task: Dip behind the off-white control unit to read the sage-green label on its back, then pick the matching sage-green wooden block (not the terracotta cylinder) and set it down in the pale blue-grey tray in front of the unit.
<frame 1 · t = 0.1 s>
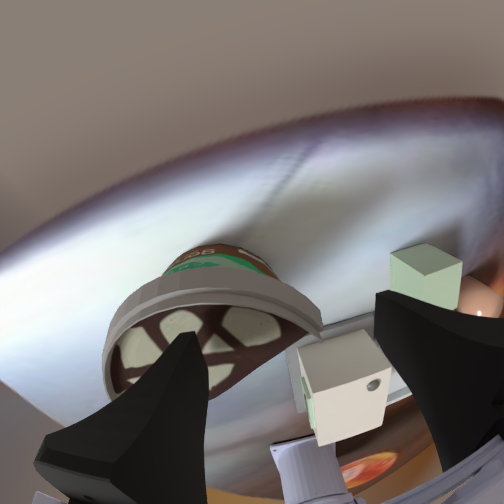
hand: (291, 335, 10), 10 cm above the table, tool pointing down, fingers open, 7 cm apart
food container: (194, 276, 20), on the table
control unit: (331, 367, 24), on the table
green part: (408, 269, 21), on the table
tray: (409, 359, 25), on the table
terracotta part: (462, 292, 23), on the table
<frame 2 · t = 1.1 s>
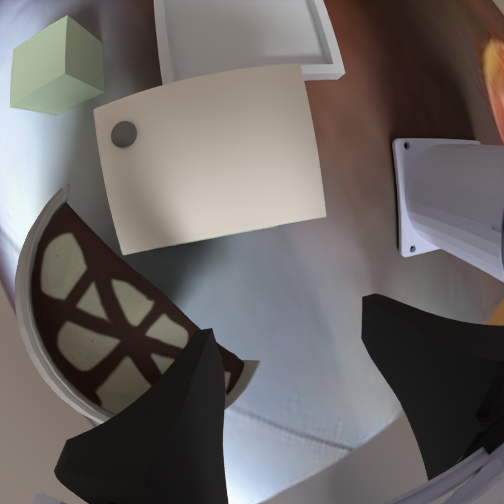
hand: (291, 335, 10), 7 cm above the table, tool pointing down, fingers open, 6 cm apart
food container: (80, 349, 15), point 3 cm above the table, touching gripper
control unit: (215, 159, 15), on the table
green part: (78, 78, 12), on the table
tray: (241, 18, 12), on the table
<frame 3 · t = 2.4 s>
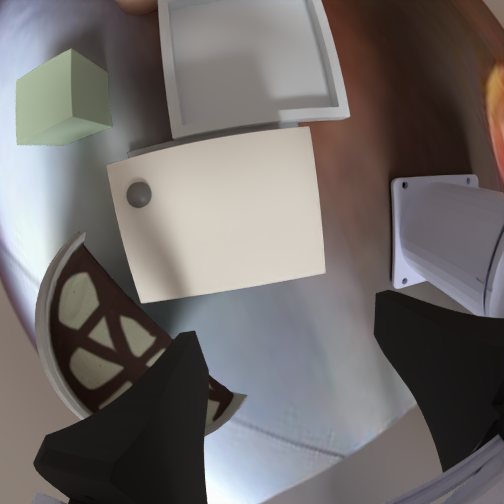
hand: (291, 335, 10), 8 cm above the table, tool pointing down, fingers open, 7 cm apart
food container: (90, 362, 16), point 2 cm above the table, touching control unit
control unit: (222, 200, 16), on the table
green part: (83, 109, 14), on the table
tray: (248, 52, 13), on the table
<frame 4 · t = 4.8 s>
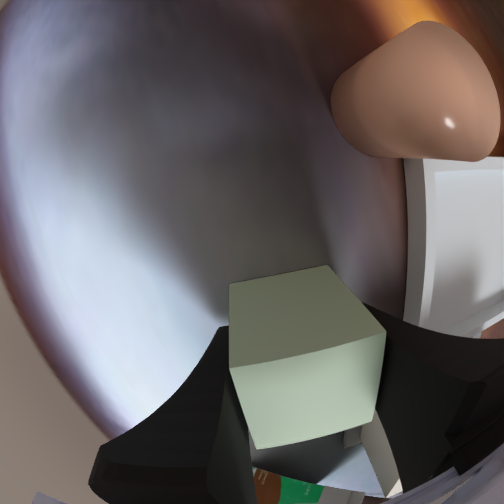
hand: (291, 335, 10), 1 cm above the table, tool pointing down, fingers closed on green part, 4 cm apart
control unit: (415, 386, 14), on the table
green part: (285, 317, 12), on the table, touching gripper
tray: (473, 248, 11), on the table
terracotta part: (375, 110, 9), on the table
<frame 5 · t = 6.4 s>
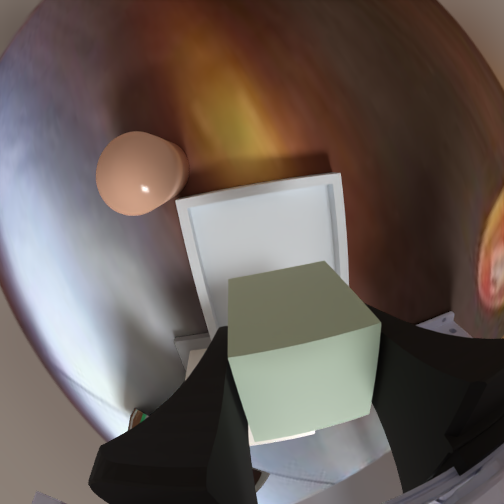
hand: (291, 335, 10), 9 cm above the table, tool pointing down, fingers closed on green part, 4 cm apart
food container: (157, 451, 22), point 2 cm above the table, touching control unit
control unit: (248, 366, 21), on the table
green part: (283, 312, 12), point 7 cm above the table, touching gripper
tray: (269, 257, 19), on the table
terracotta part: (158, 170, 16), on the table
when the fingers open (3 cm above the table, at t = 7.9 s): green part drops 1 cm, resting on tray.
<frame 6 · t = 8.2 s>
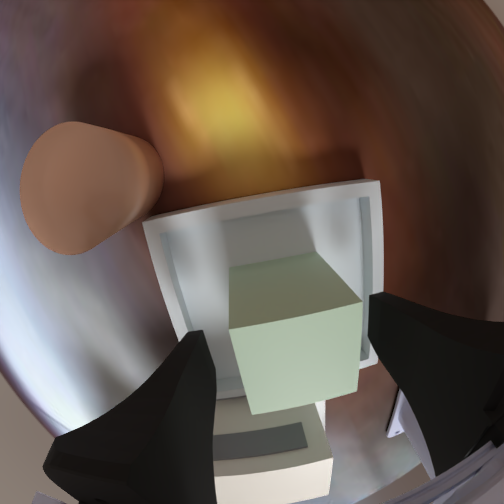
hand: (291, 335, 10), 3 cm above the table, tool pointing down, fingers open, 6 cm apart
control unit: (249, 418, 16), on the table
green part: (279, 298, 13), resting on tray
tray: (278, 296, 13), on the table
terracotta part: (122, 178, 11), on the table
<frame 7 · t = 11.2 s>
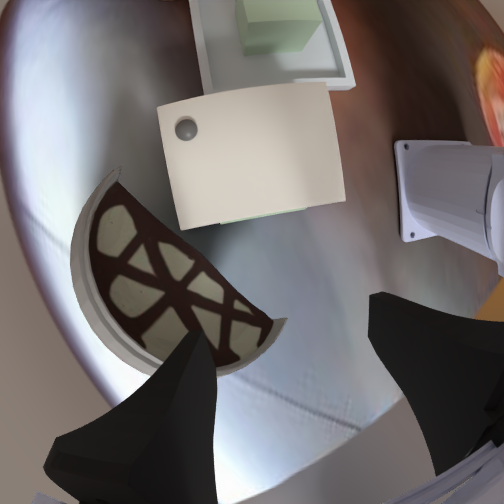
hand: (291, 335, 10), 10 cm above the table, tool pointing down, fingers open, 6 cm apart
food container: (120, 325, 18), point 2 cm above the table, touching gripper
control unit: (247, 155, 18), on the table
green part: (267, 30, 14), resting on tray
tray: (267, 33, 15), on the table
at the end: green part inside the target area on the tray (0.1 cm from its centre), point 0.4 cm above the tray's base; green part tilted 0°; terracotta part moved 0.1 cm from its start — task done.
